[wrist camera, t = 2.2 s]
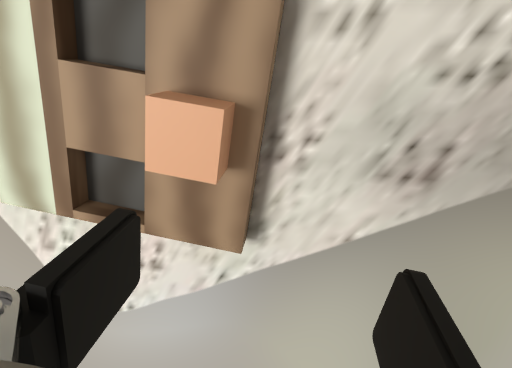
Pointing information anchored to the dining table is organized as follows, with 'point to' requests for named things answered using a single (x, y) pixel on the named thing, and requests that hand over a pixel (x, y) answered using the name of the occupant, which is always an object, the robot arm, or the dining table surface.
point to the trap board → (131, 107)
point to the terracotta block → (187, 135)
